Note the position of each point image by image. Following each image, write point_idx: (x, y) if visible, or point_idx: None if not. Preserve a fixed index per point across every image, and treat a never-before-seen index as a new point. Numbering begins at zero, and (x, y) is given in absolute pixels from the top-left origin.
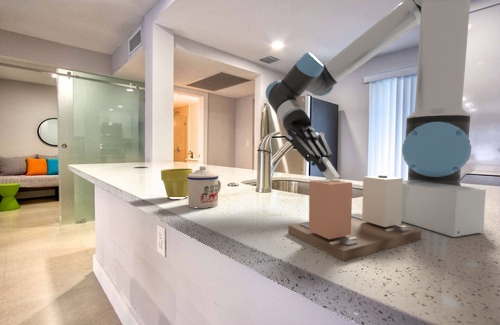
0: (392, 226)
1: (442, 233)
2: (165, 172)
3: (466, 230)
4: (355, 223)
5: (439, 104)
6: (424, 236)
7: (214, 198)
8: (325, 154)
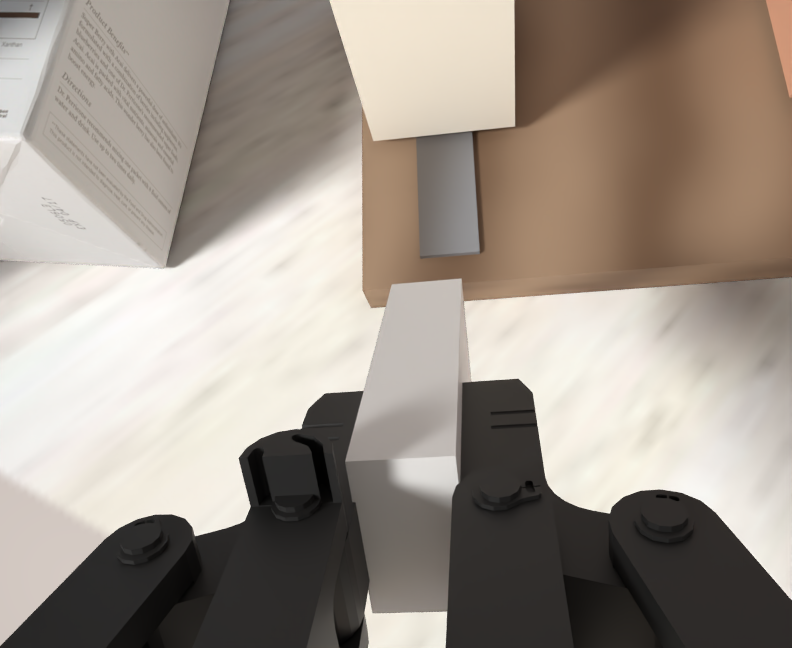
0: None
1: (228, 3)
2: None
3: None
4: (565, 133)
5: None
6: (317, 19)
7: None
8: (294, 529)
